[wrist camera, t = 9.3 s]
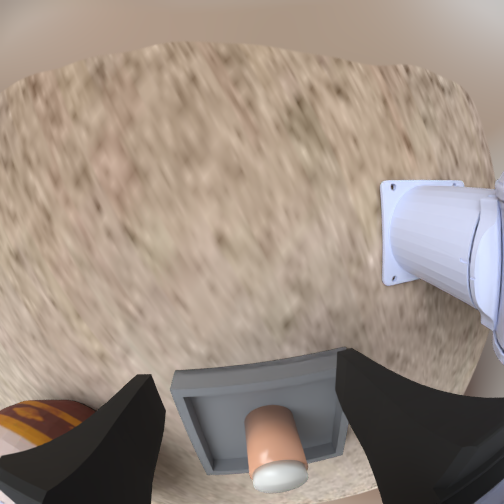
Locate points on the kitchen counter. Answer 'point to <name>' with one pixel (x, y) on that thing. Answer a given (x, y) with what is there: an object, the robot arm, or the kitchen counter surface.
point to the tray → (257, 395)
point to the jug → (37, 425)
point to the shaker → (274, 450)
